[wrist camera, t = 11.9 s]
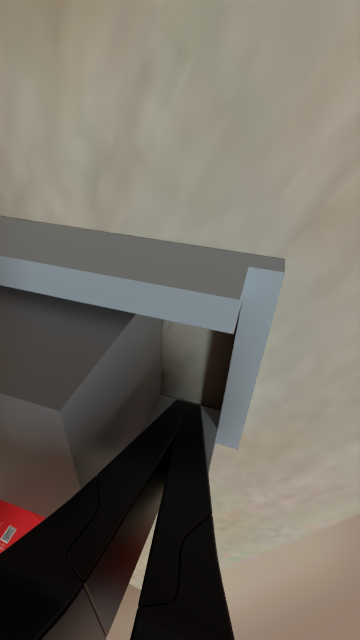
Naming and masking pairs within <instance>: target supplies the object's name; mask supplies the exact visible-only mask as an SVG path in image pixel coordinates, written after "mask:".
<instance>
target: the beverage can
mask: <svg viewBox="0 0 360 640" xmlns="http://www.w3.org/2000/svg"><path fill="white" fill-rule="evenodd" d="M44 519H46V517H43V516H41V515H38V514H36V513H33V512H31V511H28V510H25V509H23V508H20V507H18V506H15V505H13V504H10V503H8V502H5V501H3V500H0V553H1V552H3V551H4V550H5V549H7V548H8V547H9V546H11V545H12V544H13V543H14V542H16V541H17V540H18V539H20V538H21V537H22V536H24V535H25V534H26V533H27V532H29V531H30V530H31V529H33V528H34V527H35V526H37V525H38V524H39V523H40V522H42V521H43V520H44Z"/></svg>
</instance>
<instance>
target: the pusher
mask: <svg viewBox="0 0 360 640" xmlns="http://www.w3.org/2000/svg"><path fill="white" fill-rule="evenodd" d="M161 353H162V319H159V318H154V317H149V316H145V315H140V314H135V313H130V312H126V311H121V310H116V309H111V308H107V307H102V306H97V305H92V304H87V303H83V302H78V301H73V300H68V299H64V298H59V297H54V296H49V295H45V294H40V293H35V292H30V291H26V290H21V289H16V288H11V287H7V286H2V285H0V500H3V501H5V502H8V503H10V504H13V505H15V506H18V507H20V508H23V509H25V510H28V511H31V512H33V513H36V514H38V515H41V516H43V517H46V518H47V517H48V516H50V515H51V514H52V513H53V512H55V511H56V510H57V509H58V508H59V507H61V506H62V505H63V504H64V503H66V502H67V501H68V500H69V499H70V498H72V497H73V496H74V495H75V494H76V493H77V492H78V491H79V490H81V489H82V488H83V487H84V486H85V485H86V484H87V483H88V482H89V481H90V480H91V479H92V478H93V477H95V476H97V474H98V473H99V472H100V471H101V470H102V469H103V468H104V467H105V466H106V465H107V464H108V463H110V462H111V461H112V460H113V459H114V458H115V457H116V456H117V455H118V454H119V453H120V452H121V451H122V450H123V449H124V448H125V447H127V446H128V445H129V444H130V443H131V442H132V441H133V440H134V439H135V438H136V437H137V436H138V435H139V434H140V433H141V432H142V431H143V430H144V428H145V426H146V424H147V422H148V420H149V417H150V415H151V413H152V411H153V409H154V407H155V405H156V402H157V400H158V398H159V396H160V394H161Z"/></svg>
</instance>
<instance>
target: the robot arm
mask: <svg viewBox="0 0 360 640" xmlns="http://www.w3.org/2000/svg"><path fill="white" fill-rule="evenodd" d="M158 510H159V512H158ZM157 513H158V516H157V521H156V525H155V530H154V534H153V539H152V544H151V548H150V553H149V557H148V562H147V567H146V571H145V576H144V580H143V585H142V590H141V595H140V599H139V603H138V609H137V613H136V617H135V622H134V626H133V630H132V634H131V638H130V640H234V635H233V630H232V625H231V621H230V616H229V611H228V607H227V602H226V597H225V593H224V588H223V583H222V578H221V573H220V567H219V562H218V557H217V549H216V542H215V534H214V524H213V517H212V506H211V496H210V486H209V476H208V466H207V456H206V446H205V436H204V426H203V416H202V407H201V405H200V404H197V403H193V402H188V401H185V400H182V399H177V400H175V401H174V402H173V403H172V404H171V405H170V406H169V407H168V408H167V409H166V410H165V411H164V412H163V413H162V414H161V415H159V416H158V417H157V418H156V419H155V420H154V421H153V422H152V423H151V424H150V425H149V426H148V427H147V428H146V429H145V430H144V431H142V432H141V433H140V434H139V435H138V436H137V437H136V438H135V439H134V440H133V441H132V442H131V443H130V444H129V445H128V446H127V447H125V448H124V449H123V450H122V451H121V452H120V453H119V454H118V455H117V456H116V457H115V458H114V459H113V460H112V461H111V462H110V463H108V464H107V465H106V466H105V467H104V468H103V469H102V470H101V471H100V472H99V473H98V474H97V476H95V477H93V478H92V479H91V480H90V481H89V482H88V483H87V484H86V485H85V486H84V487H83V488H82V489H81V490H79V491H78V492H77V493H76V494H75V495H74V496H73V497H72V498H70V499H69V500H68V501H67V502H66V503H64V504H63V505H62V506H61V507H59V508H58V509H57V510H56V511H55V512H53V513H52V514H51V515H50V516H48V517H47V518H46V519H44V520H43V521H42V522H40V523H39V524H38V525H37V526H35V527H34V528H33V529H31V530H30V531H29V532H27V533H26V534H25V535H24V536H22V537H21V538H20V539H18V540H17V541H16V542H14V543H13V544H12V545H11V546H9V547H8V548H7V549H5V550H4V551H3V552H1V553H0V640H106V636H107V635H108V633H109V631H110V628H111V626H112V623H113V621H114V618H115V616H116V614H117V611H118V609H119V606H120V604H121V601H122V599H123V596H124V594H125V591H126V589H127V587H128V584H129V582H130V579H131V577H132V574H133V572H134V569H135V567H136V564H137V562H138V560H139V557H140V555H141V552H142V550H143V547H144V545H145V542H146V540H147V537H148V535H149V533H150V530H151V528H152V525H153V523H154V520H155V518H156V515H157Z"/></svg>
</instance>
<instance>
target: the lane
mask: <svg viewBox="0 0 360 640" xmlns="http://www.w3.org/2000/svg"><path fill="white" fill-rule="evenodd" d="M284 273H285V259H280V258H273V257H266V256H260V255H253V254H246V253H240V252H233V251H227V250H220V249H213V248H207V247H200V246H194V245H187V244H180V243H174V242H167V241H161V240H154V239H147V238H141V237H134V236H127V235H121V234H114V233H108V232H101V231H94V230H88V229H81V228H75V227H68V226H61V225H55V224H48V223H42V222H35V221H28V220H22V219H15V218H9V217H2V216H0V285H2V286H7V287H11V288H16V289H21V290H26V291H30V292H35V293H40V294H45V295H49V296H54V297H59V298H64V299H68V300H73V301H78V302H83V303H87V304H92V305H97V306H102V307H107V308H111V309H116V310H121V311H126V312H130V313H135V314H140V315H145V316H149V317H154V318H159V319H164V320H168V321H173V322H178V323H183V324H187V325H192V326H197V327H202V328H207V329H211V330H216V331H221V332H226V333H230V334H234V330H235V326H236V322H237V318H238V315H239V311H240V315H239V321H238V326H237V331H236V336H235V342H234V347H233V352H232V357H231V363H230V368H229V373H228V378H227V384H226V389H225V394H224V400H223V405H222V410H221V411H220V410H217V409H213V408H209V407H205V406H202V405H201V407H202V416H203V426H204V436H205V446H206V456H207V466H208V473H209V468H210V464H211V460H212V455H213V451H214V446H215V443H217V444H221V445H224V446H228V447H231V448H234V449H238V446H239V442H240V439H241V435H242V431H243V427H244V424H245V420H246V416H247V412H248V409H249V405H250V401H251V397H252V393H253V390H254V386H255V382H256V378H257V375H258V371H259V367H260V363H261V360H262V356H263V352H264V348H265V345H266V341H267V337H268V333H269V330H270V326H271V322H272V318H273V315H274V311H275V307H276V303H277V300H278V296H279V292H280V288H281V284H282V281H283V277H284ZM241 303H242V305H241ZM240 307H241V310H240ZM175 400H177V399H175V398H172V397H168V396H164V395H160V396H159V398H158V400H157V402H156V405H155V407H154V409H153V411H152V413H151V415H150V417H149V420H148V422H147V424H146V426H145V428H144V430H145V429H146V428H147V427H148V426H149V425H150V424H151V423H152V422H153V421H154V420H155V419H156V418H157V417H158V416H159V415H161V414H162V413H163V412H164V411H165V410H166V409H167V408H168V407H169V406H170V405H171V404H172V403H173V402H174V401H175ZM144 430H143V431H144Z"/></svg>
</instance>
